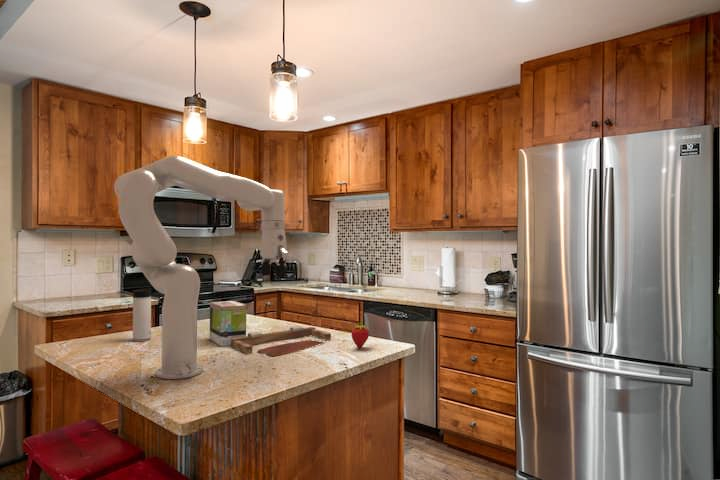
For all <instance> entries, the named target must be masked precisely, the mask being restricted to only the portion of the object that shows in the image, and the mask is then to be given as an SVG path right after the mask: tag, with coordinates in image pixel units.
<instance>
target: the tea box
mask: <svg viewBox="0 0 720 480" xmlns="http://www.w3.org/2000/svg"><path fill="white" fill-rule="evenodd" d="M247 307H248V306H247V304H245V303H243V302H239V301H236V300H227V301H226V300H225V301H212V302H211V301H210V303H209V339H210V340H211V341H213V342H214V343H216V344H217V345H218V346H220V347H227V346H231V338H238V337H245V336H247V312H248V311H247Z"/></svg>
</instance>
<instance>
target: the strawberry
mask: <svg viewBox="0 0 720 480" xmlns="http://www.w3.org/2000/svg"><path fill="white" fill-rule="evenodd" d="M366 327H367V325H363V324H362V325H361V324H358V325H354V326H353V329H352V330H351V334H350V335H351V338H352V341H353V343H354V345H356V346H357V348H358V349H359V348H361V349H362V348H363V346H364V345H365V344H366V342H367V341H368V339H369V336H370V331H369V329H368V328H366Z"/></svg>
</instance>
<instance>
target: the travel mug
mask: <svg viewBox="0 0 720 480" xmlns="http://www.w3.org/2000/svg"><path fill="white" fill-rule="evenodd" d="M151 294H152V287H148V286H147V287H146V288H145V287H144V288H138V289H135V290H133V291H132V295H133V296H132V341H133V342H136V343H138V342H139V343H141V342H142V341H143V342H149V341H150V340H151V339H152V295H151ZM143 342H142V343H143Z"/></svg>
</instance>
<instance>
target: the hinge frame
mask: <svg viewBox="0 0 720 480" xmlns="http://www.w3.org/2000/svg"><path fill="white" fill-rule="evenodd" d="M331 334H332V333H330V332H327V331H323V330H320V329H316V327H313V326H308V327H303V326H298V325H297V326H290V328H289V330H281V331H275V332H267V333H262V332H259V331H254V332H253V331H252V332H248V333H247V335H246V336H245V337H238V338H231V345H230V347H231V348H232V349H235V350H237V351H239V352H241V353H243V354H245V355H252V354H253V346H256V345H263V344H268V343H273V342H274V343H275V342H280V341H287V340H293V339H294V340H295V339H298V338H299V337H301V338H305V337H304V336H307V337H313V336H315V337H314V338H316V337H318V338H317V339H320V338H322V339H321V340H323V339H325V340H324V341H326V340H328V341H331V340H332V335H331ZM310 335H312V336H310ZM299 339H300V338H299ZM330 339H331V340H330Z"/></svg>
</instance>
